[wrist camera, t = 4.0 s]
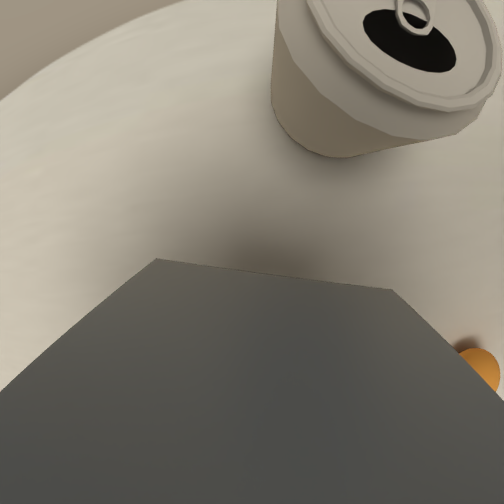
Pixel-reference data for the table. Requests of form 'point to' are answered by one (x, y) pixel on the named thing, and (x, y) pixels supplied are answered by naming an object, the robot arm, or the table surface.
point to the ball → (483, 365)
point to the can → (381, 71)
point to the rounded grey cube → (250, 400)
